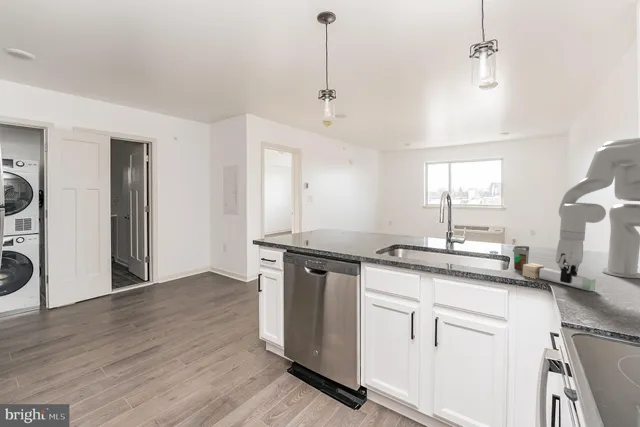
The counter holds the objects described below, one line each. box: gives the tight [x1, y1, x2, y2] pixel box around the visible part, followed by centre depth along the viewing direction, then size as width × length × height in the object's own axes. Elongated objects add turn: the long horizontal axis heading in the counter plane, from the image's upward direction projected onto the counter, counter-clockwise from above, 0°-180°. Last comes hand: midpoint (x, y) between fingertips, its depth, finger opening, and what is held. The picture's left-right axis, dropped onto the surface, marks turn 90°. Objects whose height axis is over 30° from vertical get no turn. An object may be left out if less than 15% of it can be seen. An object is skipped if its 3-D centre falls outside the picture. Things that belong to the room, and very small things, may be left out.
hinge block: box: [521, 263, 545, 280], centre depth 132 cm, size 6×5×5 cm
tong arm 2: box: [543, 267, 597, 292], centre depth 121 cm, size 18×2×4 cm, turn 24°
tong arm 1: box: [538, 268, 594, 292], centre depth 120 cm, size 18×2×4 cm, turn 25°
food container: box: [512, 245, 530, 272], centre depth 146 cm, size 12×6×10 cm, turn 141°
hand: (568, 281), depth 120 cm, fingers open, 3 cm apart
